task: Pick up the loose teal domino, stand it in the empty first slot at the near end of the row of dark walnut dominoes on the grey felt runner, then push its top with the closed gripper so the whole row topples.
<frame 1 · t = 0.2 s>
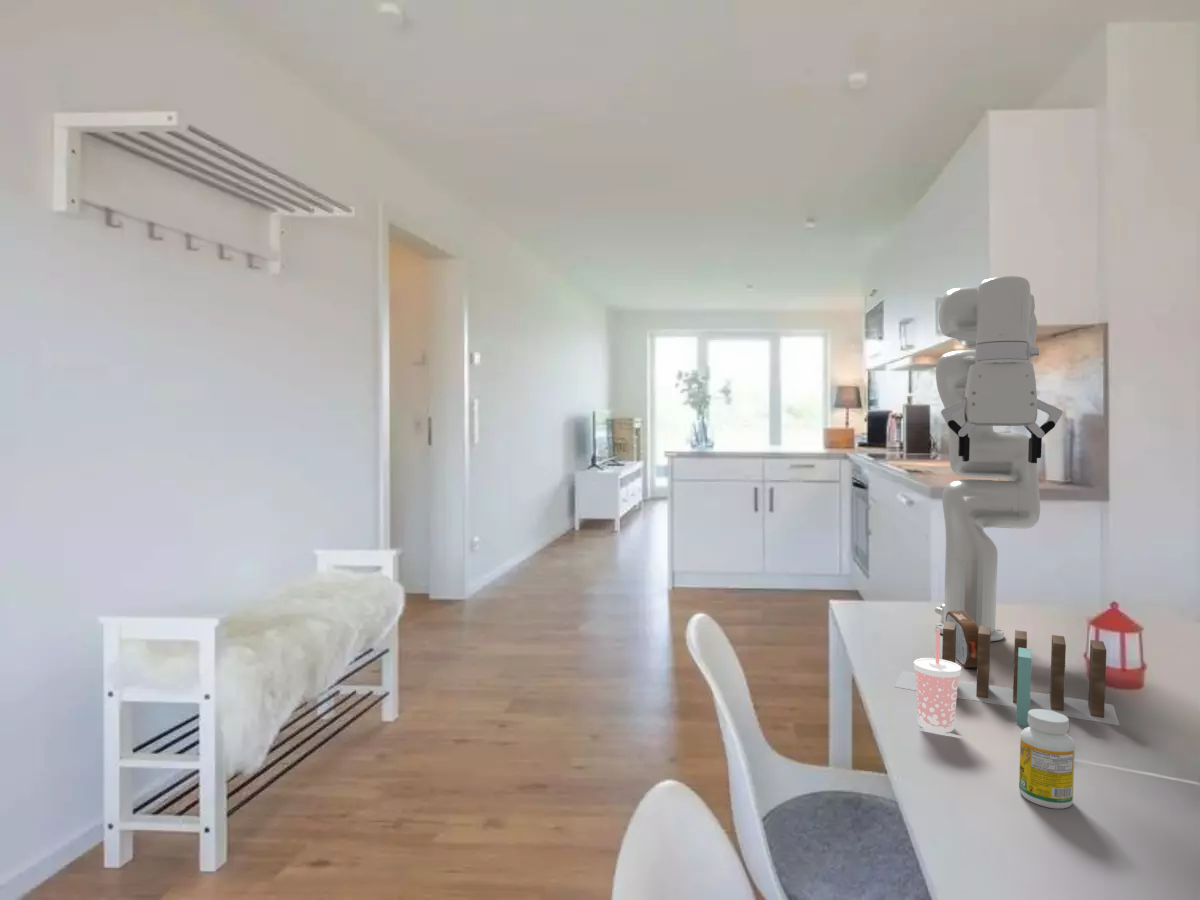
hand: (998, 462, 121), 37 cm above the table, tool pointing down, fingers open, 9 cm apart
beverage cup: (935, 729, 105), on the table
domino 6: (1095, 711, 111), resting on runner
domino 3: (982, 692, 119), resting on runner
domino 5: (1056, 704, 114), resting on runner
domino 2: (948, 686, 121), resting on runner
tin: (962, 662, 135), on the table
supplement bottle: (1045, 799, 86), on the table
runner: (1000, 697, 117), on the table
domino 4: (1018, 698, 116), resting on runner
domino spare: (1022, 721, 108), on the table
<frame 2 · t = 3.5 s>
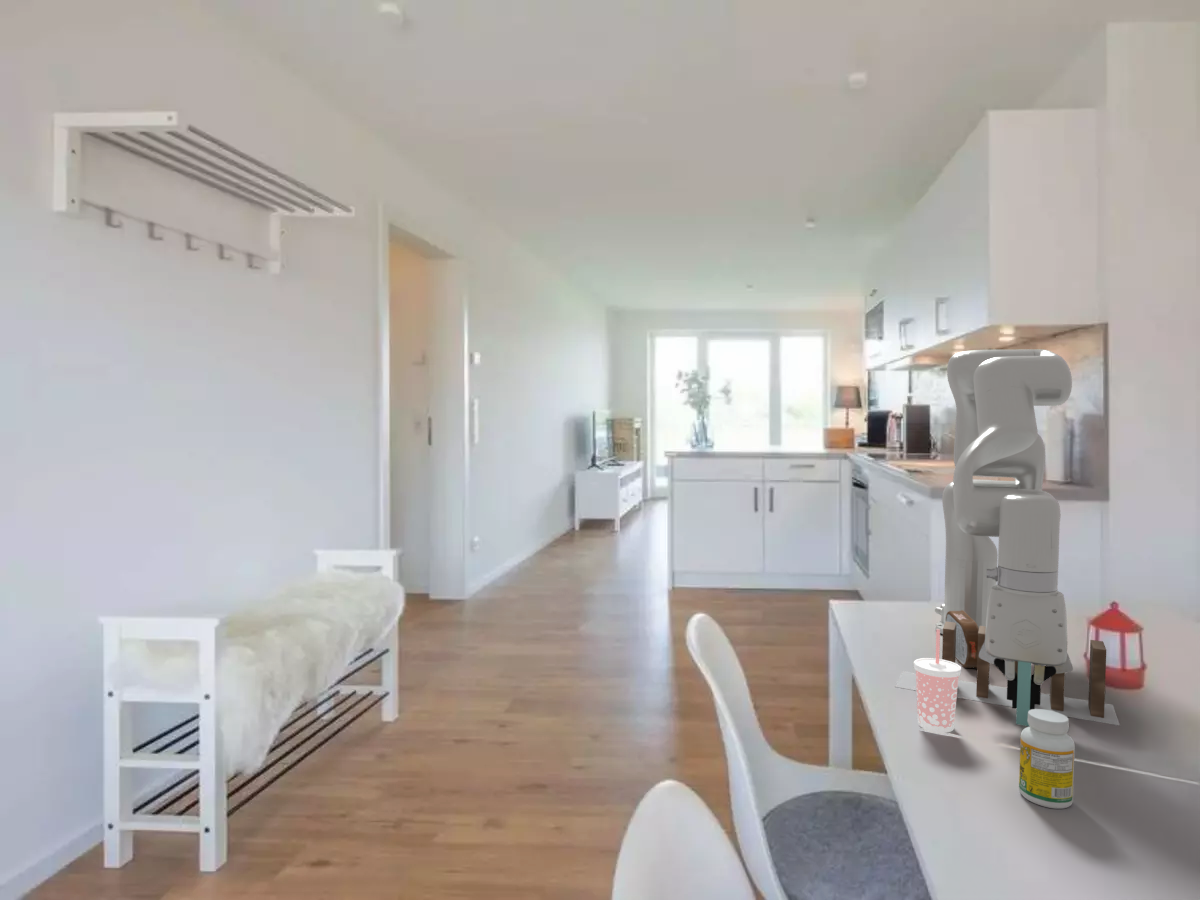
hand: (1023, 706, 108), 2 cm above the table, tool pointing down, fingers closed on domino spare, 1 cm apart
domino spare: (1022, 720, 108), on the table, touching gripper
everything else where it was.
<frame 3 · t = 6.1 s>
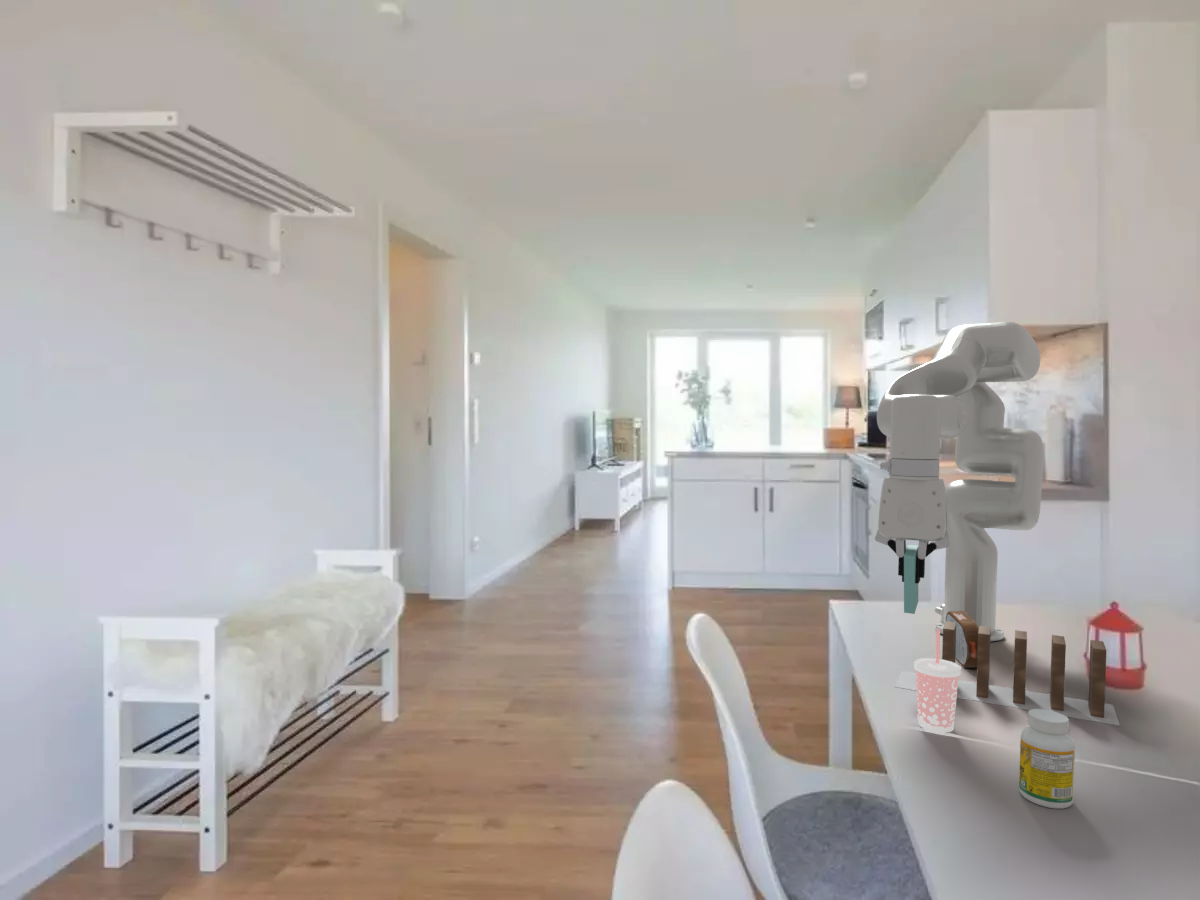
hand: (911, 580, 123), 17 cm above the table, tool pointing down, fingers closed on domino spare, 1 cm apart
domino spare: (911, 606, 124), point 12 cm above the table, tilted 12°, touching gripper
everything else where it was.
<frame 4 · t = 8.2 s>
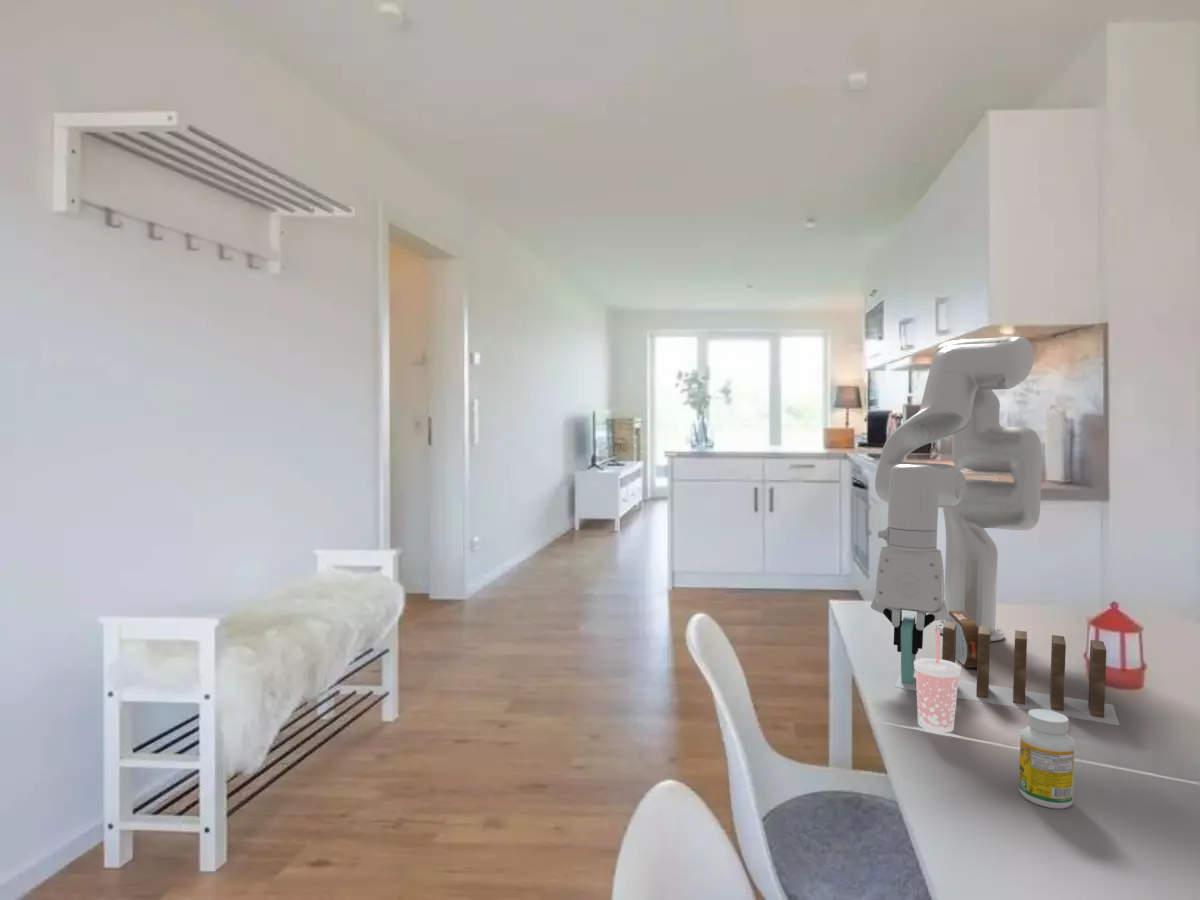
hand: (907, 650, 123), 6 cm above the table, tool pointing down, fingers closed on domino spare, 1 cm apart
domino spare: (908, 674, 125), point 1 cm above the table, tilted 15°, touching gripper, runner
everything else where it was.
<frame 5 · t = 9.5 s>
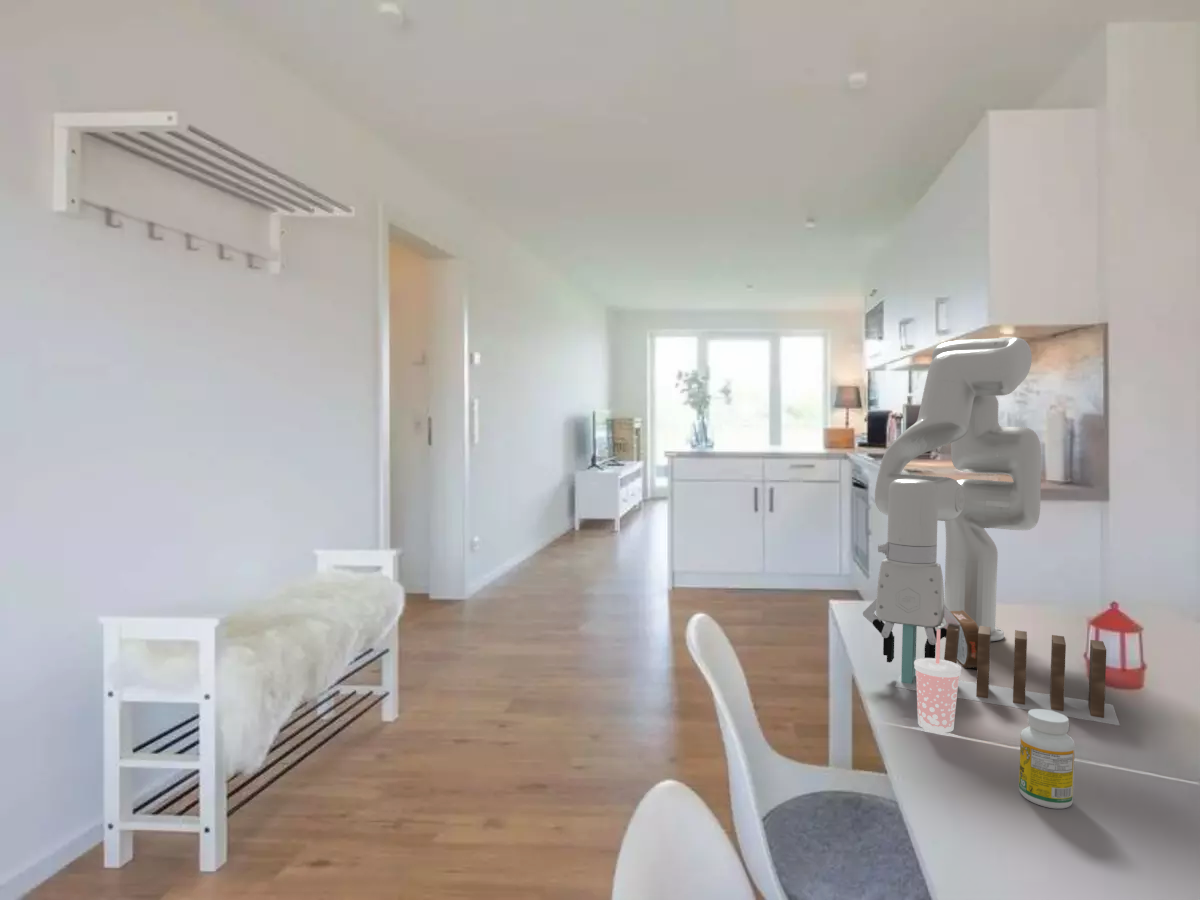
hand: (908, 662, 124), 3 cm above the table, tool pointing down, fingers open, 5 cm apart
domino 2: (948, 686, 121), resting on runner, touching gripper
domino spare: (908, 678, 125), resting on runner
everything else where it was.
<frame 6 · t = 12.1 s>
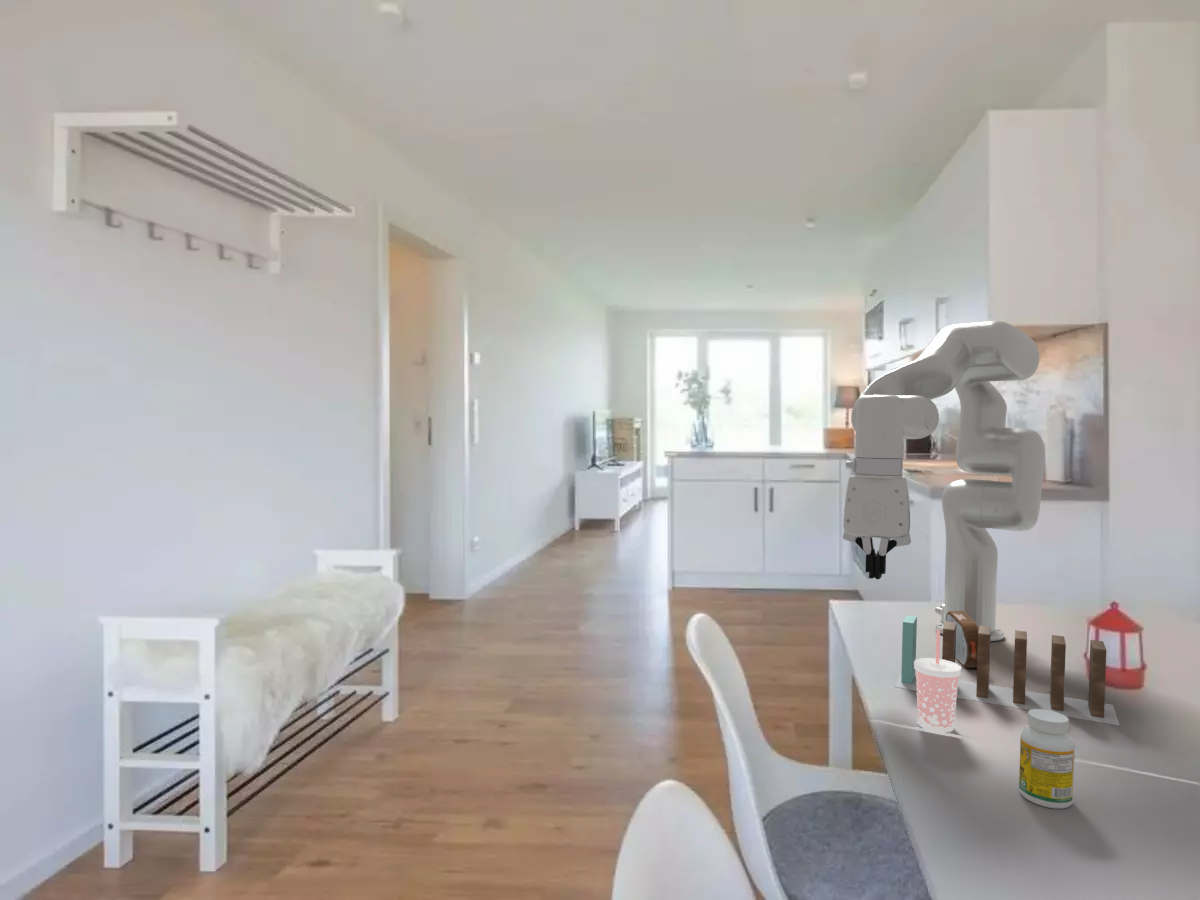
hand: (875, 577, 126), 17 cm above the table, tool pointing down, fingers closed
domino 2: (948, 686, 121), resting on runner
everything else where it was.
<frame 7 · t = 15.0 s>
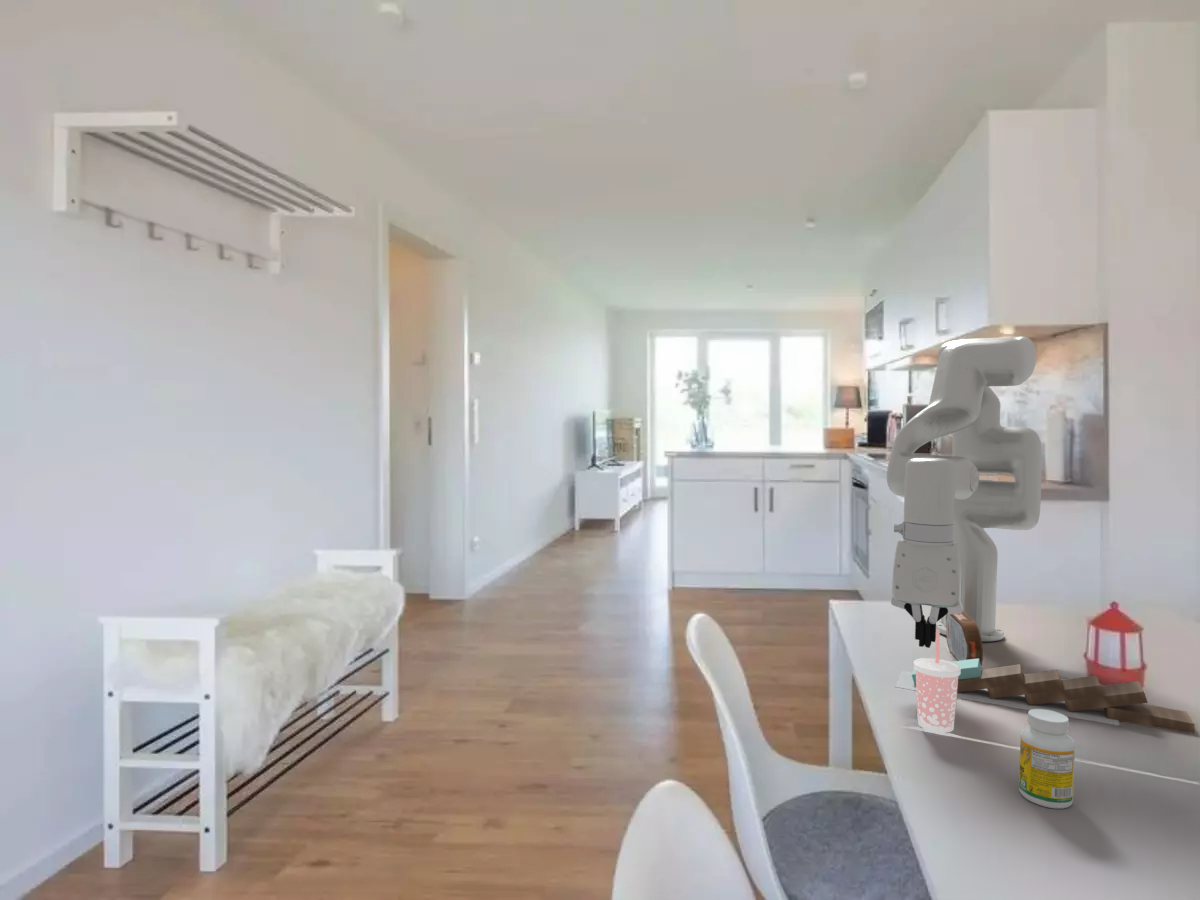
hand: (925, 644, 122), 7 cm above the table, tool pointing down, fingers closed
domino 6: (1105, 707, 111), point 1 cm above the table, tilted 92°, touching domino 5, runner
domino 3: (989, 688, 118), point 1 cm above the table, tilted 71°, touching domino 2, domino 4, runner
domino 5: (1065, 700, 113), point 1 cm above the table, tilted 71°, touching domino 4, domino 6
domino 2: (954, 683, 121), point 1 cm above the table, tilted 71°, touching domino 3, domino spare, runner
domino 4: (1025, 694, 116), point 1 cm above the table, tilted 71°, touching domino 3, domino 5, runner
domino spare: (914, 675, 124), point 1 cm above the table, tilted 73°, touching domino 2, runner
everything else where it was.
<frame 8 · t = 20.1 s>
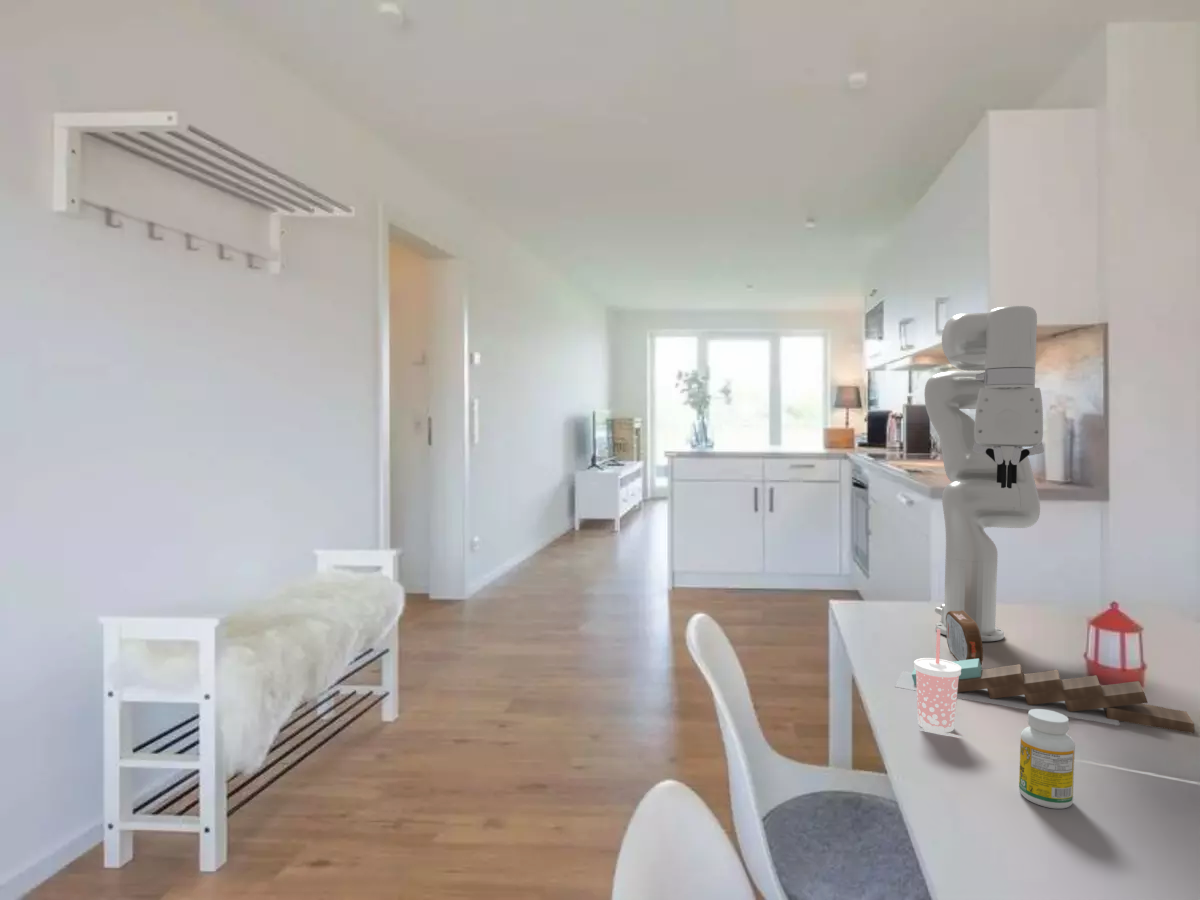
hand: (1006, 487, 128), 32 cm above the table, tool pointing down, fingers closed
nothing on the table moved.
at the end: domino 6 tilted 92°; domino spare tilted 73°; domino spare inside the target area on the runner (1.2 cm from its centre), point 1.1 cm above the runner's base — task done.
